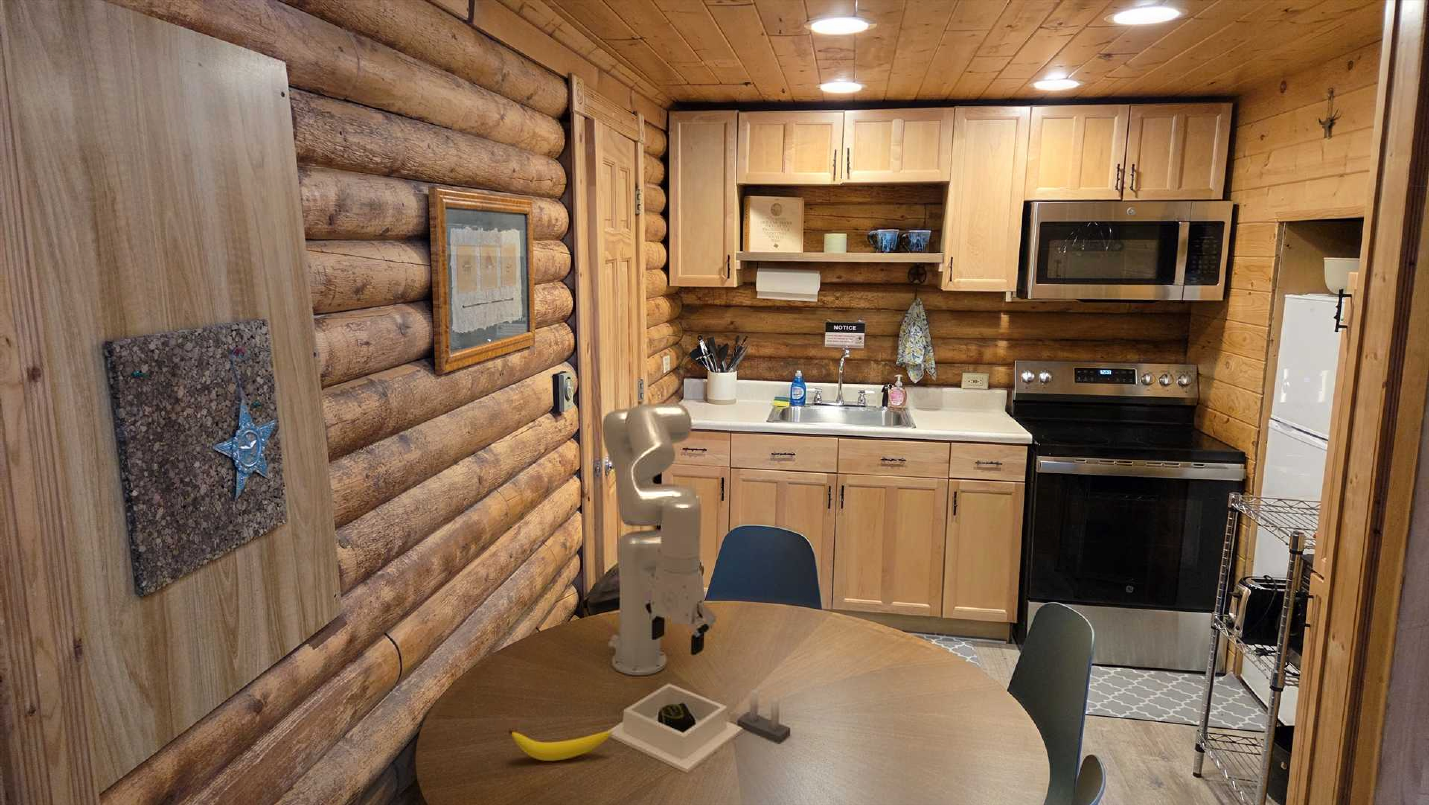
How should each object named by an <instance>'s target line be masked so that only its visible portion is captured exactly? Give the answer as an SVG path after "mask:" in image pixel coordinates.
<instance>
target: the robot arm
mask: <svg viewBox="0 0 1429 805" xmlns="http://www.w3.org/2000/svg"><path fill="white" fill-rule="evenodd" d="M601 426H602V439H603V442H604V443H603V444H604V446H605V449H606V453H607V455H608V457H609V459H610V462H611V464H612V468H613V469H614V474H615V476H614V477H615V485H616V496H617V497H616V498H617V504H618V505H617V506H618V513H619V517H620V520H621V522H622V523H623V524H624V525H625V526H629V527H654V526H655V527H656V526H660V527H661V528H660V529H647V530H637V531H630V532H627V533H624V534H623V535H622V536H621V537H619V539H618V541H617V543H616V558H617V564H618V573H619V574H618V575H619V628H618V629H619V635H617V634H612V636H611V639H610V641H608V644H607V646H608V647H610V648H613V649H615V654H613V655H612V658H611V660H612V662H611V663H612V666H613V668H614V669H616V670H617V671H618V672H620V673H622V674H624V675H625V674H626V675H630V676H631V675H632V676H647V675H653V674H656V673H659V672H661V671H662V670H663V669H665V667H666V666H667V661H668V658H667V656H666V654H665V653H664V652H663V651H661V637H663V636H665V622H666V621H665V620H668V621H670V622H672V623H675V624H678V625H680V626H686V627H688V626H689V627H690V629H691V632H692V633H693V634H692V635H691V637H690V654H691V656H696V655H697V654H699V653H701V652H702V651H703V650H704V647H705V633H707V632H708V631H709V630H710V629H712V628H713V625H714V623H715V622H716V620H717V616H716V615H715V614H714V613H713V612H712V610H710V608H708V607H707V605H706V604H705V587H704V579H703V573H702V570H701V569H700V562H701V561H700V560H701V559H700V558H701V556H700V555H701V552H700V551H701V537H702V536H701V535H702V532H701V531H702V530H701V529H702V505H701V502H700V498H699V495H698V493H696V491H695V489H694V488H692V487H691V486H688V485H687V486H686V485H678V484H675V483H654V482H653V478H654V477H657V476H658V475H660V474H662V473H665V471H667V470H668V469H669V468H670V467H671V466H672V465H673V463H674V461H675V459H676V450H675V447H674V445H673V444H677V443H682V442H685V441H687V440H688V438H690V435H691V432H692V428H693V427H692V426H693V425H692V418H691V415H690V412H689V411H688V408H686V407H685V406H684V405H683V404H681V403H644V404H639V405H635V406H634V407H632V408H621V409H616V410H612V411H610V412H608V413H607V414H606V415H605V416H604V418H603V421H602V425H601ZM652 574H654V576H652ZM703 618H704V620H705V621H704V620H703ZM697 625H698V626H697Z"/></svg>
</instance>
